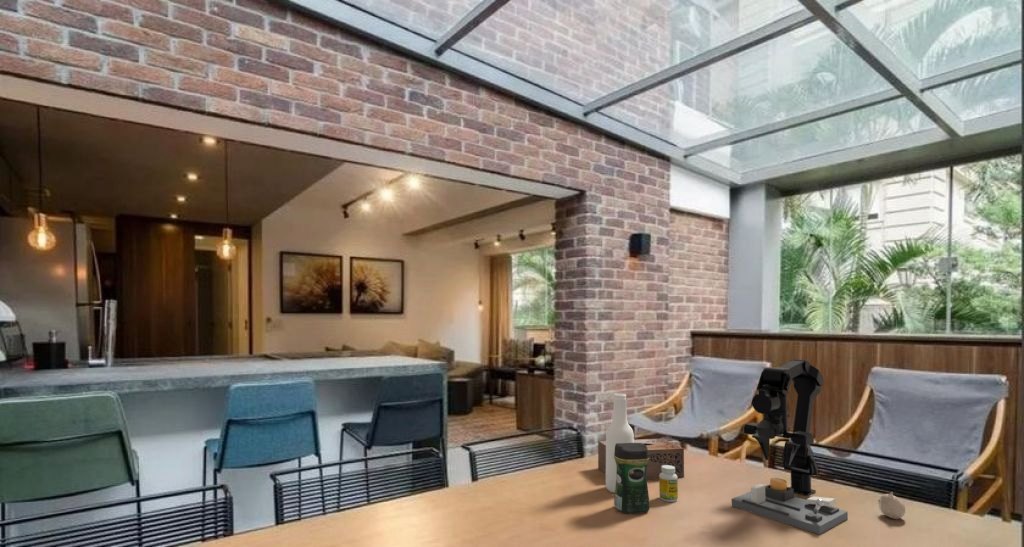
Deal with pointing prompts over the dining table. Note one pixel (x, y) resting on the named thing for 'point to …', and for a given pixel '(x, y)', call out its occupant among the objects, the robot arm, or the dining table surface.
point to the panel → (792, 510)
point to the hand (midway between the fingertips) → (777, 462)
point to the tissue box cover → (652, 456)
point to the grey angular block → (758, 493)
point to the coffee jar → (631, 478)
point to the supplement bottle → (668, 484)
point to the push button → (778, 484)
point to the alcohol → (616, 438)
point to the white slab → (826, 500)
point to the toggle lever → (818, 505)
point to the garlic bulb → (891, 506)
